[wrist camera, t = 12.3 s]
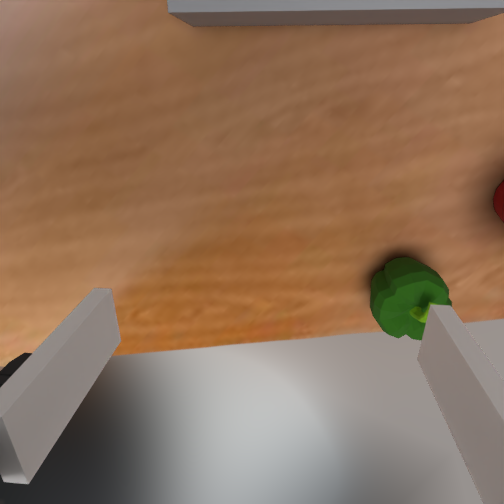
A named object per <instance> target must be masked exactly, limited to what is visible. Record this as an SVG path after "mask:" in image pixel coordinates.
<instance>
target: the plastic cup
mask: <svg viewBox="0 0 504 504" xmlns="http://www.w3.org/2000/svg"><path fill="white" fill-rule="evenodd" d="M493 202H494V209H495V211H496V213H497V214H498V216H499V217H500V219H501V220H502V221H503V222H504V180H503V182H502V183H501V184H500V185H499V187H498V188H497V189H496V192H495V195H494V198H493Z"/></svg>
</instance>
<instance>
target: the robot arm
mask: <svg viewBox="0 0 504 504" xmlns="http://www.w3.org/2000/svg"><path fill="white" fill-rule="evenodd" d="M120 342H121V338H120V333H119V327H118V322H117V316H116V311H115V306H114V300H113V295H112V289H107V288H94V289H93V290H92V291H91V292H90V293H89V294H88V295H87V296H86V297H85V298H84V299H83V300H82V301H81V302H80V303H79V304H78V306H77V307H76V308H75V309H74V310H73V311H72V312H71V313H70V314H69V315H68V316H67V317H66V318H65V319H64V320H63V322H62V323H61V324H60V325H59V326H58V327H57V328H56V329H55V330H54V331H53V332H52V333H51V334H50V335H49V336H48V337H47V339H46V340H45V341H44V342H43V343H42V344H41V345H40V346H39V347H38V348H37V349H36V350H35V351H34V352H33V353H23V354H22V355H20V356H19V357H17V358H15V359H14V360H12V361H11V362H9V363H8V364H7V365H6V366H5V367H4V368H3V369H2V370H1V371H0V474H1V476H2V478H3V480H4V482H12V483H22V484H29V483H30V481H31V479H32V478H33V476H34V475H35V473H36V472H37V470H38V468H39V467H40V466H41V464H42V462H43V461H44V459H45V458H46V456H47V455H48V453H49V451H50V450H51V448H52V447H53V445H54V444H55V442H56V441H57V439H58V437H59V436H60V435H61V433H62V431H63V430H64V428H65V427H66V425H67V424H68V422H69V421H70V419H71V417H72V416H73V414H74V413H75V411H76V410H77V408H78V407H79V405H80V403H81V402H82V400H83V399H84V397H85V396H86V394H87V393H88V391H89V390H90V388H91V387H92V385H93V383H94V382H95V380H96V379H97V377H98V376H99V374H100V373H101V371H102V369H103V368H104V366H105V365H106V363H107V362H108V360H109V359H110V357H111V356H112V354H113V352H114V351H115V349H116V348H117V346H118V345H119V343H120ZM417 359H418V362H419V364H420V366H421V368H422V370H423V373H424V375H425V377H426V379H427V381H428V384H429V386H430V388H431V390H432V392H433V394H434V397H435V399H436V401H437V403H438V405H439V408H440V410H441V412H442V414H443V416H444V419H445V421H446V423H447V425H448V427H449V429H450V432H451V433H452V436H453V438H454V440H455V442H456V445H457V447H458V449H459V451H460V453H461V456H462V458H463V460H464V462H465V464H466V467H467V469H468V471H469V473H470V475H471V477H472V480H473V482H474V484H475V486H476V488H477V490H478V493H479V495H480V497H481V499H482V501H483V503H484V504H504V380H503V378H502V377H501V376H500V374H499V373H498V371H497V370H496V368H495V367H494V366H493V364H492V363H491V362H490V360H489V359H488V358H487V356H486V354H484V352H483V350H482V349H481V348H480V346H479V345H478V343H477V342H476V340H475V339H474V338H473V336H472V335H471V334H470V332H469V331H468V329H467V328H466V327H465V325H464V324H463V322H462V321H461V320H460V318H459V317H458V315H457V314H456V313H455V311H454V310H453V308H452V307H451V306H450V305H430V308H429V313H428V317H427V321H426V325H425V329H424V333H423V337H422V341H421V346H420V350H419V354H418V358H417Z"/></svg>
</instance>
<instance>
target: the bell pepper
mask: <svg viewBox="0 0 504 504" xmlns="http://www.w3.org/2000/svg"><path fill="white" fill-rule="evenodd" d="M448 297H449V289H448V287H447V286H446V284H445V282H444V281H443V279H442V278H441V277H440V276H439V274H438V273H437V272H436V271H434V270H433V269H431V268H430V267H428V266H426V265H424V264H422V263H420V262H418V261H416V260H414V259H411V258H409V257H401V258H395V259H394V260H392V261H390V262H388V263H386V264H385V268H384V270H382V271H379V272H377V273H376V274H375V275H374V277H373V279H372V281H371V296H370V308H371V311H372V314H373V317H374V318H375V319H376V321H377V322H378V324H379V325H380V327H381V328H382V330H383V331H384V332H386V333H387V334H389V335H391V336H394V337H396V338H400V337H402V336H404V335H405V334H407V335H408V336H409V337H410V338H412V339H416V340H422V337H423V333H424V329H425V325H426V321H427V317H428V313H429V308H430V305H450V306H451V307H452V301H451V300H450V299H449V298H448Z"/></svg>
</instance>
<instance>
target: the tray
mask: <svg viewBox="0 0 504 504" xmlns="http://www.w3.org/2000/svg"><path fill="white" fill-rule="evenodd" d="M167 4H168V13H170V14H172V15H173V16H175V17H177V18H179V19H181V20H182V21H184V22H186V23H188V24H190V25H191V26H276V25H366V24H457V23H473V22H476V21H479V20H482V19H485V18H489V17H492V16H495V15H498V14H501V13H504V0H167Z"/></svg>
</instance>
